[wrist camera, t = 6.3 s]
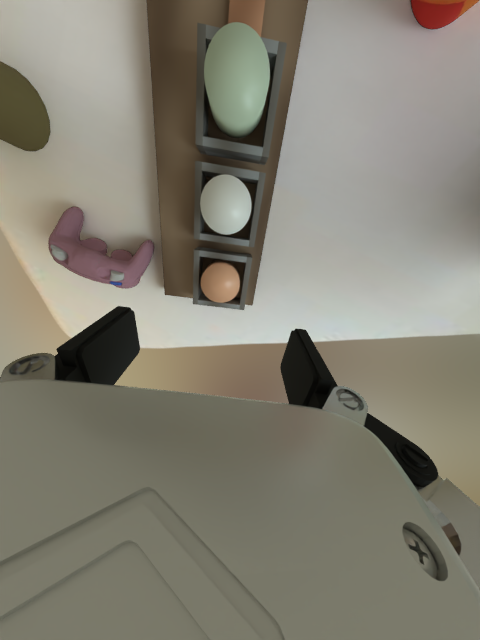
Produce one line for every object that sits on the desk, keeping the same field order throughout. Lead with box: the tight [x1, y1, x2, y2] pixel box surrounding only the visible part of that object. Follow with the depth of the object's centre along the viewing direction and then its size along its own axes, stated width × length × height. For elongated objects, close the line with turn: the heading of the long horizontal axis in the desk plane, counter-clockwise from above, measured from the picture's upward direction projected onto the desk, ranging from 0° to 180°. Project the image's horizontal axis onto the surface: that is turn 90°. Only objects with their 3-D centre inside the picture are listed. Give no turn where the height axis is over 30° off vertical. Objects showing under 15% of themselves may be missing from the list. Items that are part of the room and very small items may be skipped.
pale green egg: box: [204, 22, 270, 138], centre depth 14 cm, size 4×4×3 cm
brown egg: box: [201, 259, 240, 303], centre depth 22 cm, size 4×4×3 cm
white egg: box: [200, 174, 251, 235], centre depth 17 cm, size 4×4×3 cm
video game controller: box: [48, 207, 154, 288], centre depth 22 cm, size 10×5×7 cm, turn 65°
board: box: [147, 0, 308, 310], centre depth 19 cm, size 12×26×4 cm, turn 172°
